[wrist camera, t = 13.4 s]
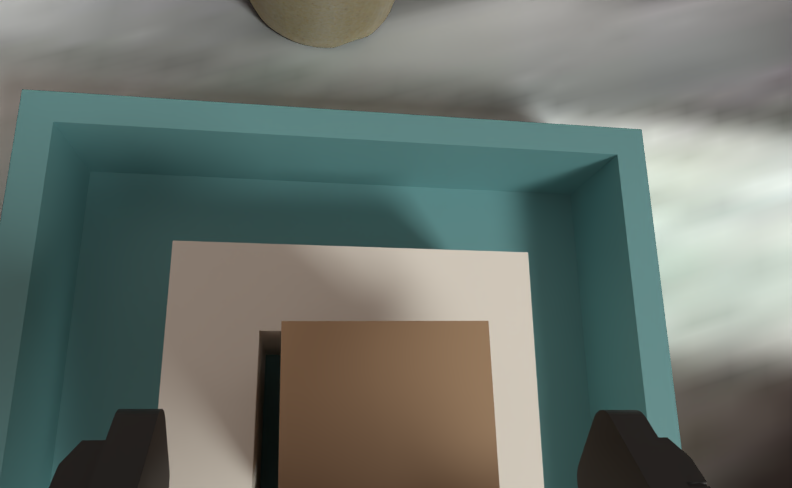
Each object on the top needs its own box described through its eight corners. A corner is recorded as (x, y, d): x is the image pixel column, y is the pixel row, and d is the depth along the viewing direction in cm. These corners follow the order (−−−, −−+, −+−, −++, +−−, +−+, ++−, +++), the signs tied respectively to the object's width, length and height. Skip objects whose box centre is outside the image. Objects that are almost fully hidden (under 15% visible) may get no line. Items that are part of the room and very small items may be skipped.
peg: (389, 378, 23) (488, 320, 12) (391, 487, 22) (503, 541, 11) (284, 379, 22) (281, 320, 11) (282, 492, 21) (276, 554, 10)
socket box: (585, 177, 27) (665, 109, 21) (641, 747, 22) (768, 859, 16) (69, 150, 24) (1, 62, 18) (-23, 807, 18) (-160, 971, 13)
